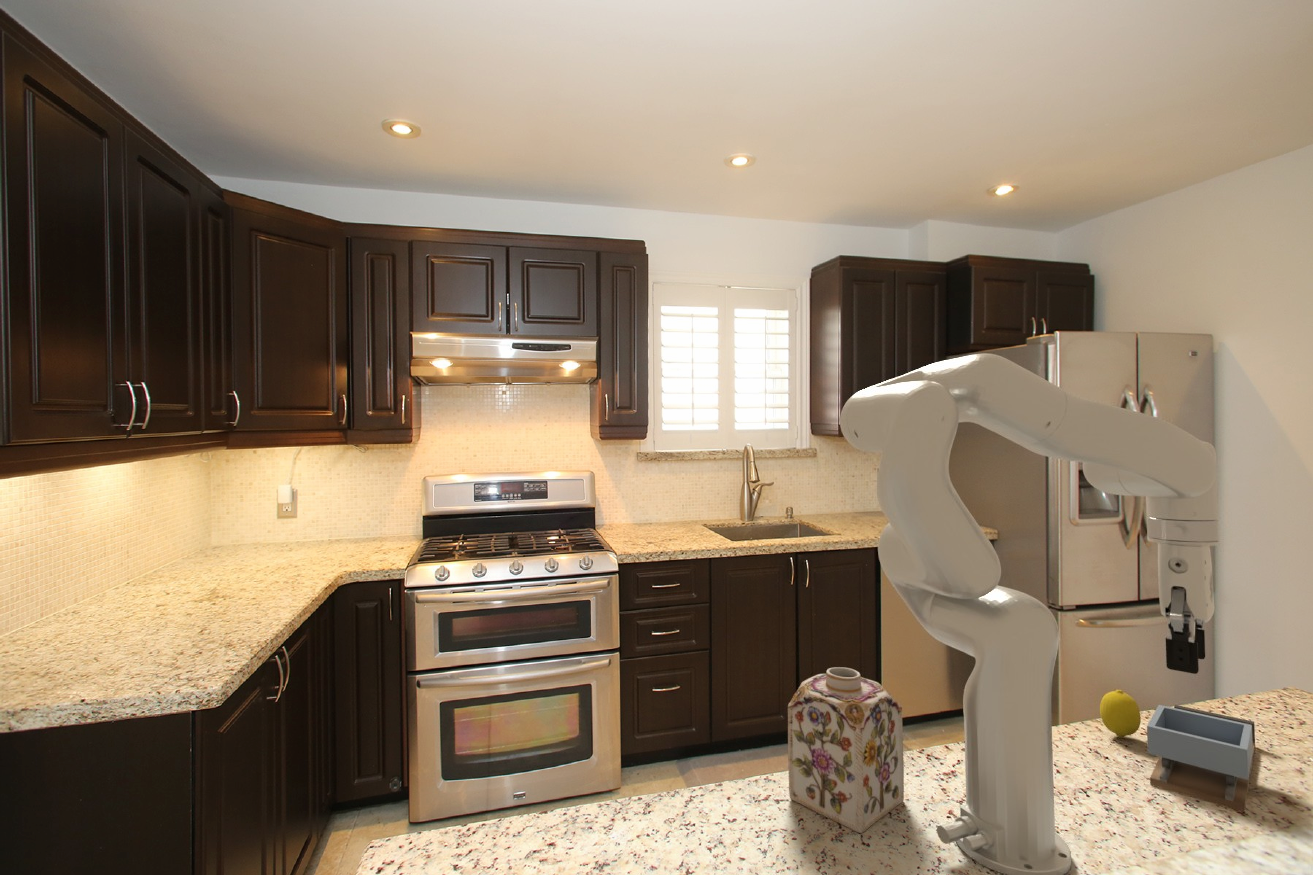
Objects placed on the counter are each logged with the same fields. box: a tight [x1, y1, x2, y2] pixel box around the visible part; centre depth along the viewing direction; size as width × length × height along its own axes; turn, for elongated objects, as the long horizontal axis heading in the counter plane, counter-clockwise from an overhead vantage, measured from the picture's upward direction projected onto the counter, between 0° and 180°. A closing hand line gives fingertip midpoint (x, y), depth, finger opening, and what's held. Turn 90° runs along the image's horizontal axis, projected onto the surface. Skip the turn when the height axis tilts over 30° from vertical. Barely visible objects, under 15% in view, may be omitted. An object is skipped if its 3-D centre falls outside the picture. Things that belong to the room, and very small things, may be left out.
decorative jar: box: [787, 666, 905, 834], centre depth 89 cm, size 12×12×18 cm
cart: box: [1146, 704, 1253, 787], centre depth 93 cm, size 11×11×6 cm
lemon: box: [1099, 689, 1142, 739], centre depth 106 cm, size 6×6×8 cm
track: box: [1149, 704, 1256, 813], centre depth 97 cm, size 26×10×4 cm, turn 134°
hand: (1186, 662), depth 85 cm, fingers open, 7 cm apart
